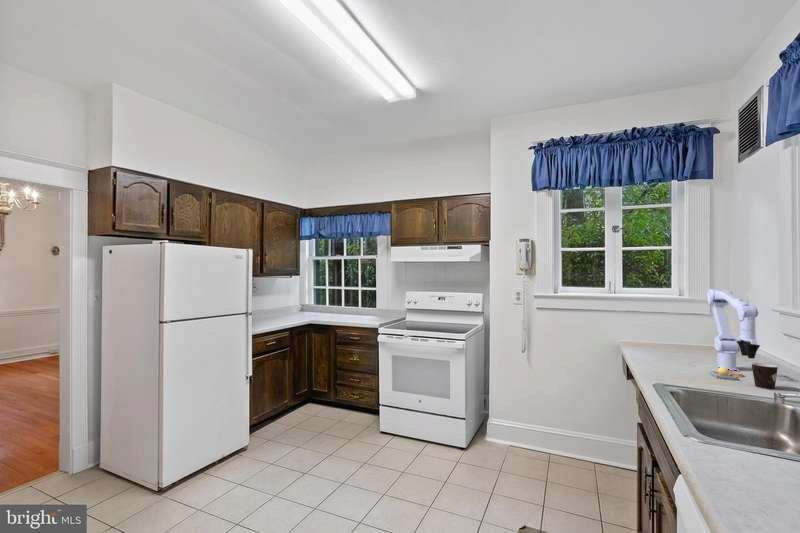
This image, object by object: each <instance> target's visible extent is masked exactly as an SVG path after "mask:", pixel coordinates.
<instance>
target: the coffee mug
mask: <svg viewBox="0 0 800 533" xmlns="http://www.w3.org/2000/svg"><path fill="white" fill-rule="evenodd" d="M778 368H779V367H778V365H775V364H770V363H761V362H751V369H752V375H753V382H754V386H755V387H756V388H759V389H765V390H775V389H776V382H777V375H778Z"/></svg>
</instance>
